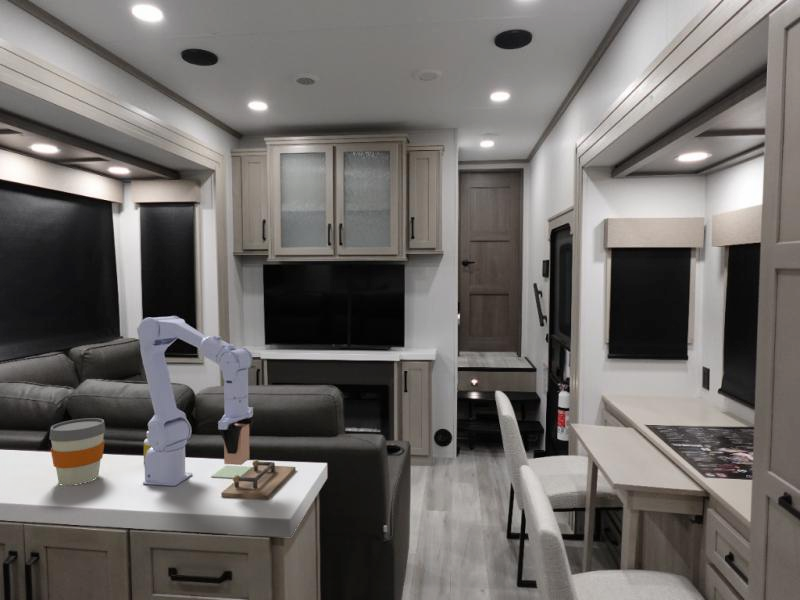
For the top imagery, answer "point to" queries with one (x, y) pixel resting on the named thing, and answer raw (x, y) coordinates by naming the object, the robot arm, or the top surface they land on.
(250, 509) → the top surface
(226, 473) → the mat
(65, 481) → the reusable coffee cup
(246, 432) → the terracotta block
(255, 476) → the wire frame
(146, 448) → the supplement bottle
